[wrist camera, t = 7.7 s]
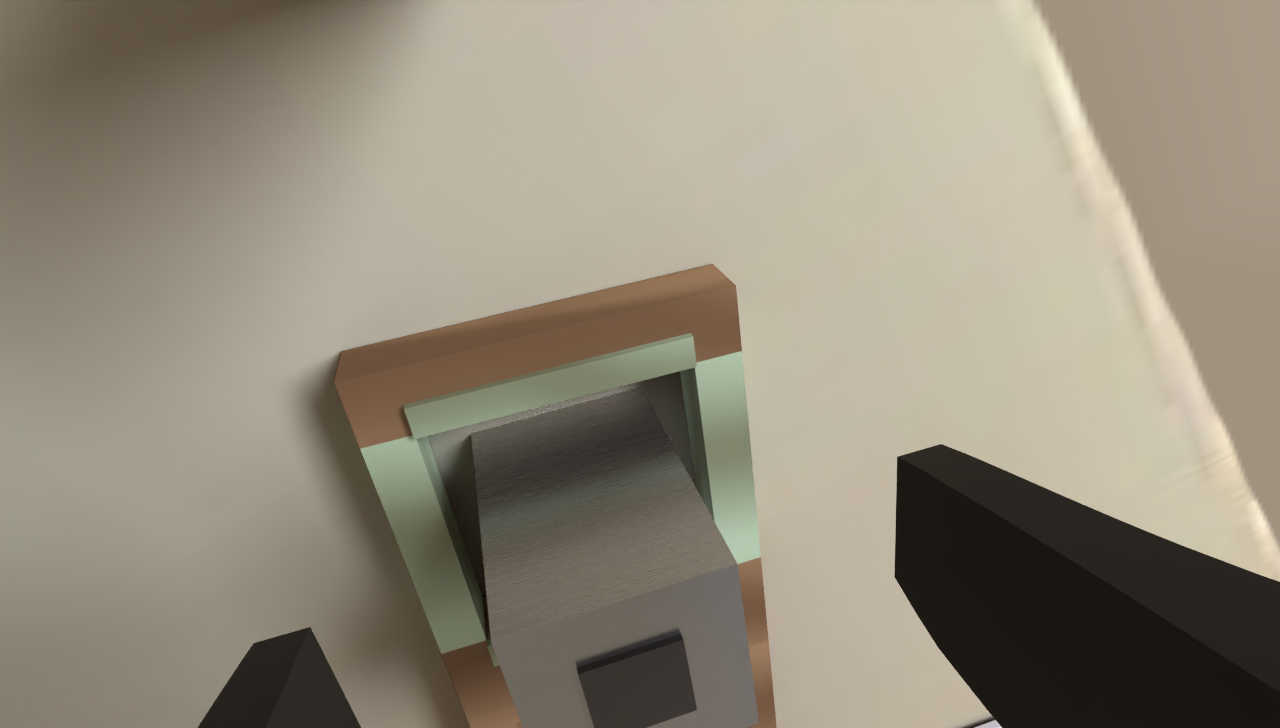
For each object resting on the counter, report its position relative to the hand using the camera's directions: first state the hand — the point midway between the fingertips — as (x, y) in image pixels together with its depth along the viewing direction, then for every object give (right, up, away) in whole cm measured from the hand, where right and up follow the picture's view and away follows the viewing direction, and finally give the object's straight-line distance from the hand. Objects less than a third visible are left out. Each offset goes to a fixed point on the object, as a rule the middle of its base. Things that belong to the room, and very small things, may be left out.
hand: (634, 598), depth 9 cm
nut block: (-2, 0, +11) cm, 11 cm away
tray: (-1, -4, +13) cm, 14 cm away
